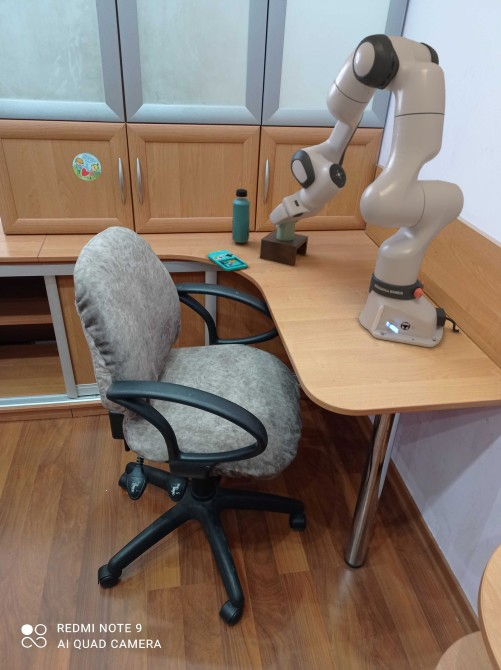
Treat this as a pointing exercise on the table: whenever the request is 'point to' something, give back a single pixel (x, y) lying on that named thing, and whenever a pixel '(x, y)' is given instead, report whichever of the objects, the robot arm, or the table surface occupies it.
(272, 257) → the stand
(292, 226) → the tumbler
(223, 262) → the handheld gaming console
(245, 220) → the beverage bottle
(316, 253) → the table surface
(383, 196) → the robot arm
